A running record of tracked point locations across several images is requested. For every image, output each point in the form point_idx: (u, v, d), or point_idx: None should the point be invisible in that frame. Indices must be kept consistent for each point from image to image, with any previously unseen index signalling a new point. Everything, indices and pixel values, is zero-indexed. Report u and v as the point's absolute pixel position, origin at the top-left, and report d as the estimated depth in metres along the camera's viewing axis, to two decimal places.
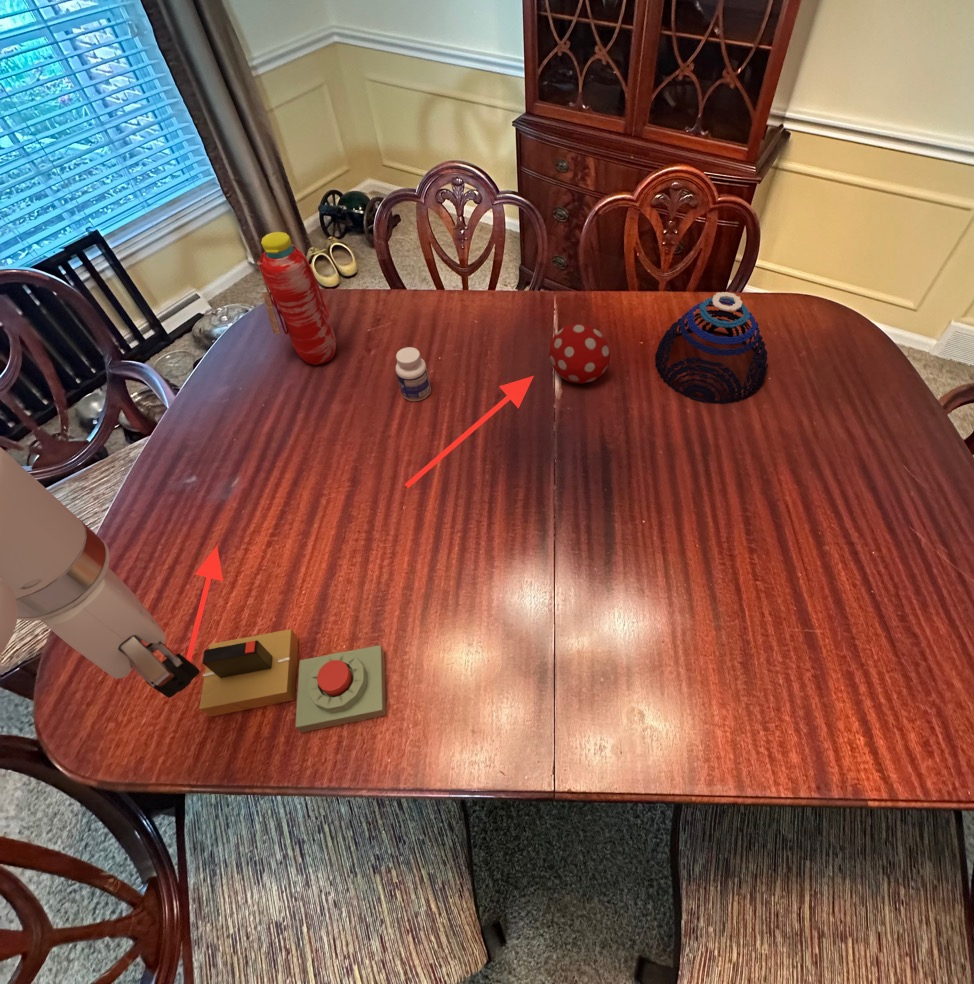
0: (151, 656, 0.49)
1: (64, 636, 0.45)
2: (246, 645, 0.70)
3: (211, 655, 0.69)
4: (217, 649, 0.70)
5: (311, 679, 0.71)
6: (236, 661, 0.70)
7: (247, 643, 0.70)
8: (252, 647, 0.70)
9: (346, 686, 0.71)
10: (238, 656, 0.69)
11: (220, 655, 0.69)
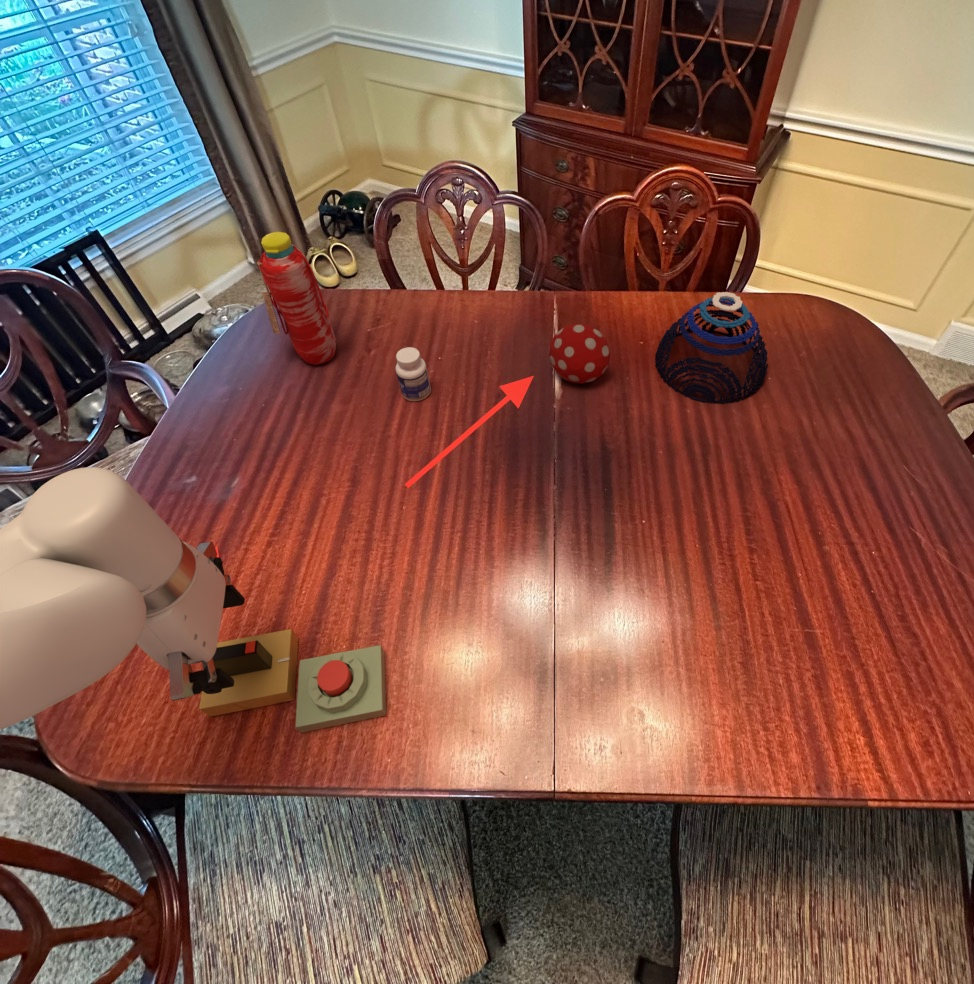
0: (181, 676, 0.57)
1: None
2: (246, 645, 0.70)
3: None
4: (217, 649, 0.70)
5: (311, 679, 0.71)
6: (236, 661, 0.70)
7: (247, 643, 0.70)
8: (252, 647, 0.70)
9: (346, 686, 0.71)
10: (238, 656, 0.69)
11: (220, 655, 0.69)
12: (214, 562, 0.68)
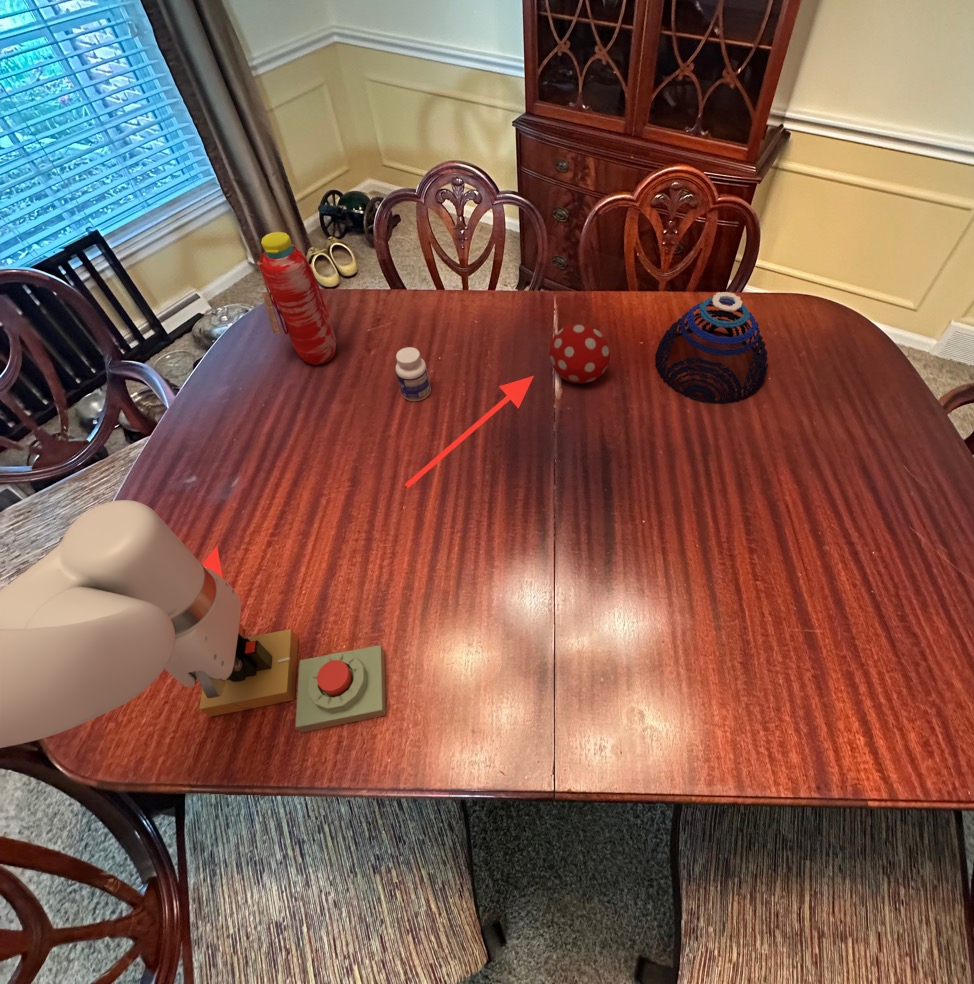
0: (212, 684, 0.63)
1: None
2: (246, 645, 0.70)
3: None
4: None
5: (311, 679, 0.71)
6: None
7: (247, 643, 0.70)
8: (252, 647, 0.70)
9: (346, 686, 0.71)
10: (238, 656, 0.69)
11: None
12: None
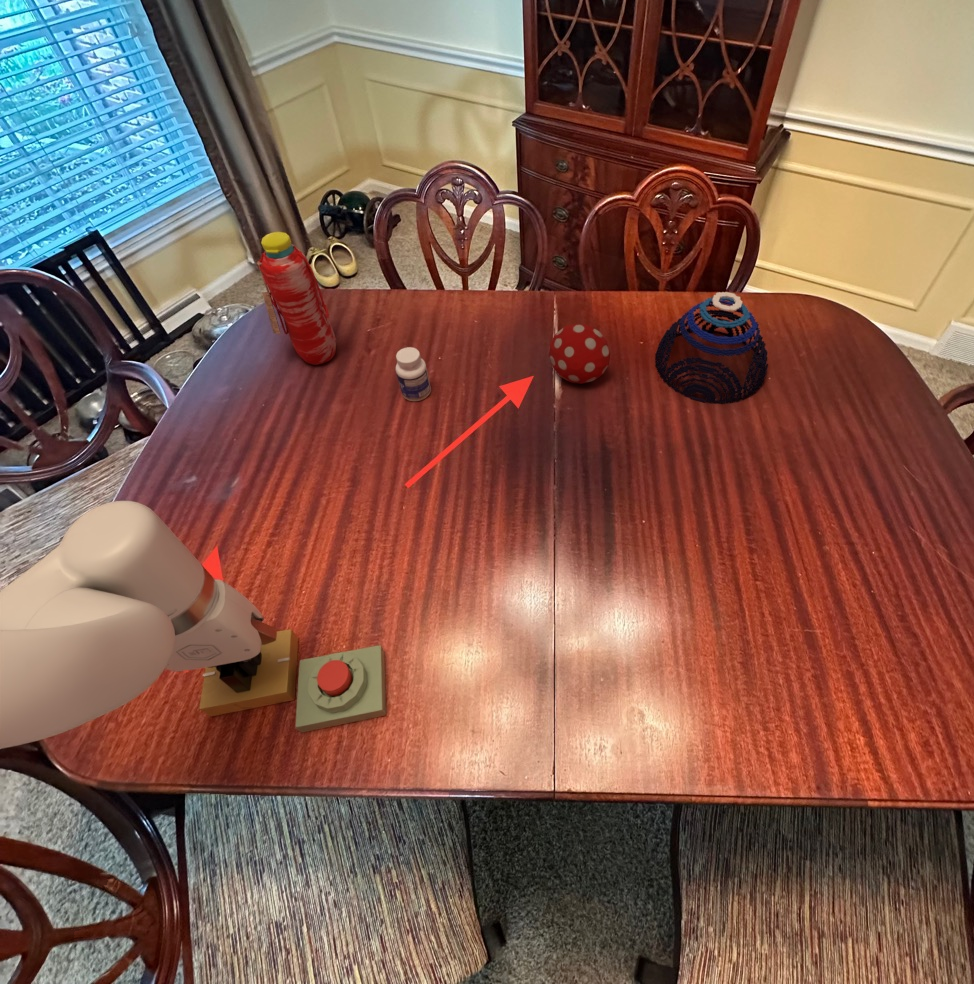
0: (265, 624, 0.67)
1: (225, 622, 0.60)
2: None
3: (228, 668, 0.68)
4: (223, 664, 0.69)
5: (311, 679, 0.71)
6: None
7: None
8: None
9: (346, 686, 0.71)
10: None
11: None
12: None
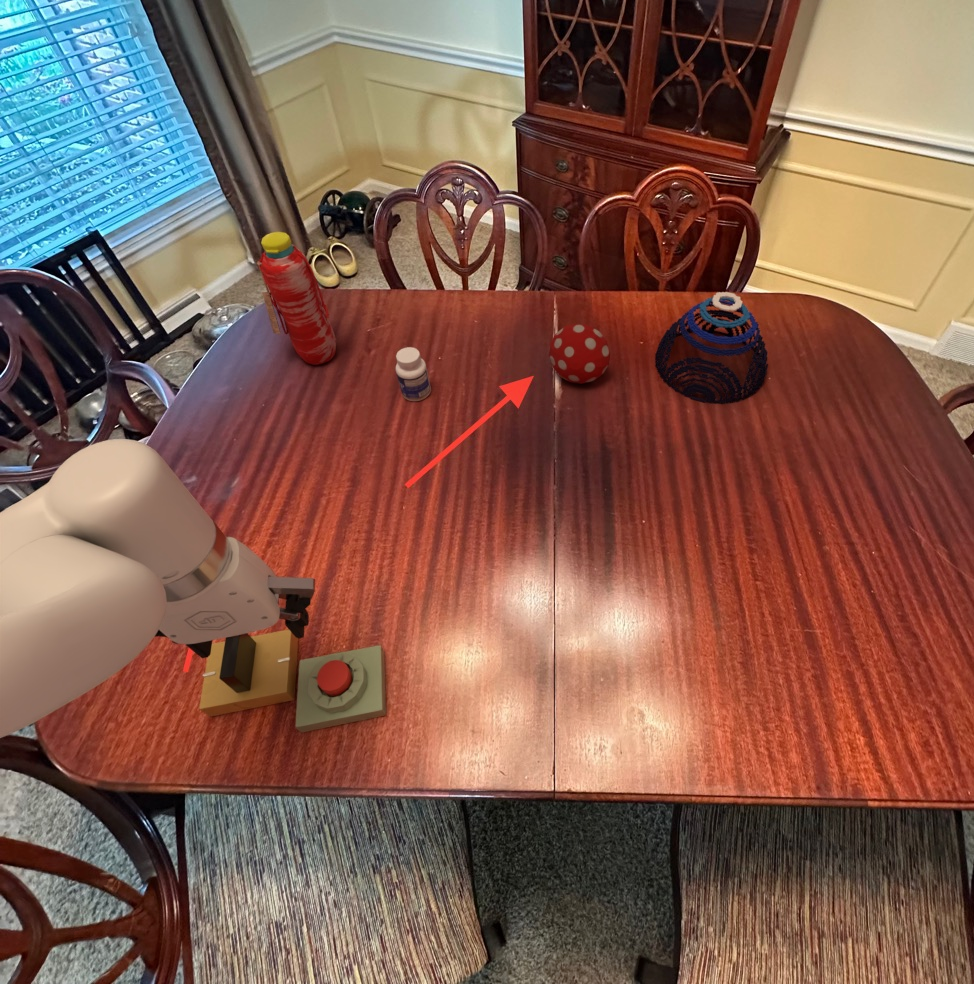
0: (293, 578, 0.59)
1: (241, 584, 0.53)
2: None
3: (228, 668, 0.68)
4: (223, 664, 0.69)
5: (311, 679, 0.71)
6: (241, 651, 0.71)
7: None
8: None
9: (346, 686, 0.71)
10: (238, 642, 0.70)
11: (231, 659, 0.69)
12: None
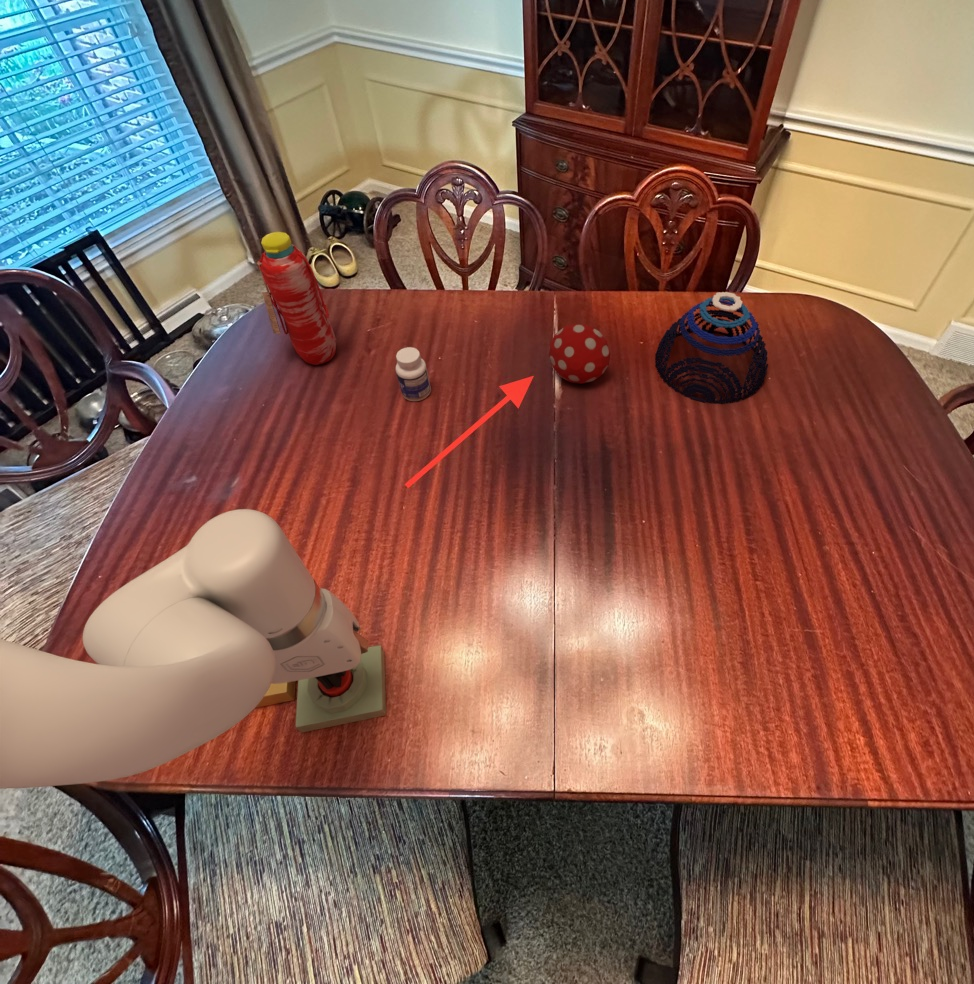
0: (360, 635, 0.65)
1: (334, 633, 0.58)
2: None
3: None
4: None
5: (311, 679, 0.71)
6: None
7: None
8: None
9: (347, 687, 0.71)
10: None
11: None
12: None
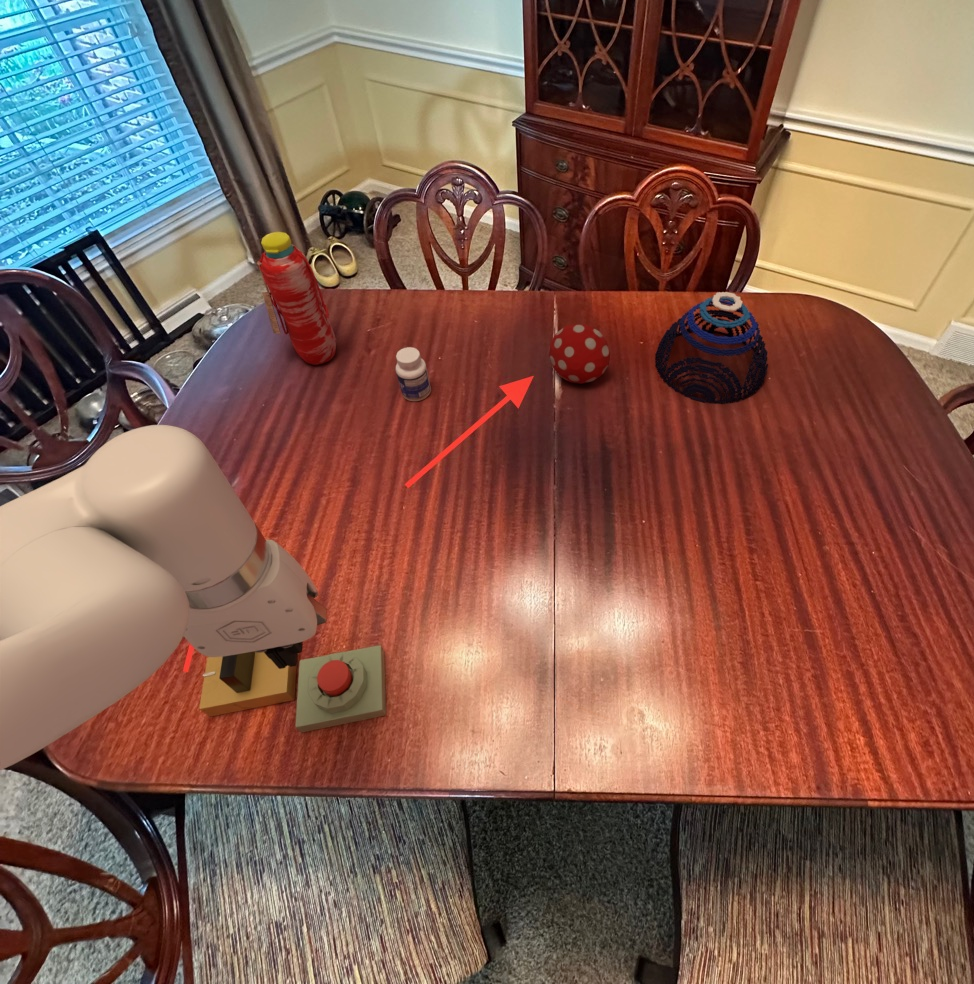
0: (317, 602, 0.55)
1: (281, 591, 0.48)
2: None
3: (228, 668, 0.68)
4: (223, 664, 0.69)
5: (311, 679, 0.71)
6: None
7: None
8: None
9: (346, 686, 0.71)
10: None
11: (231, 659, 0.69)
12: None
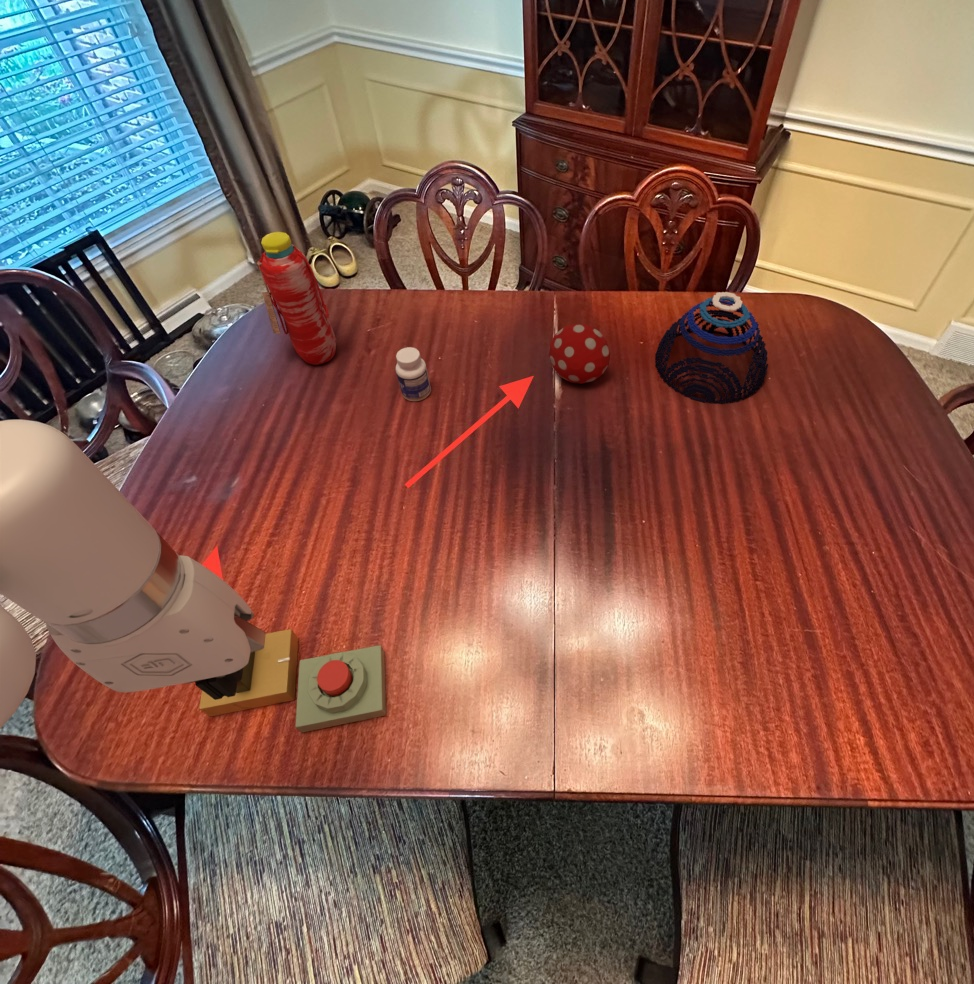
0: (251, 625, 0.47)
1: (195, 619, 0.40)
2: None
3: None
4: None
5: (311, 679, 0.71)
6: None
7: None
8: None
9: (346, 686, 0.71)
10: None
11: None
12: None
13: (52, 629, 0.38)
